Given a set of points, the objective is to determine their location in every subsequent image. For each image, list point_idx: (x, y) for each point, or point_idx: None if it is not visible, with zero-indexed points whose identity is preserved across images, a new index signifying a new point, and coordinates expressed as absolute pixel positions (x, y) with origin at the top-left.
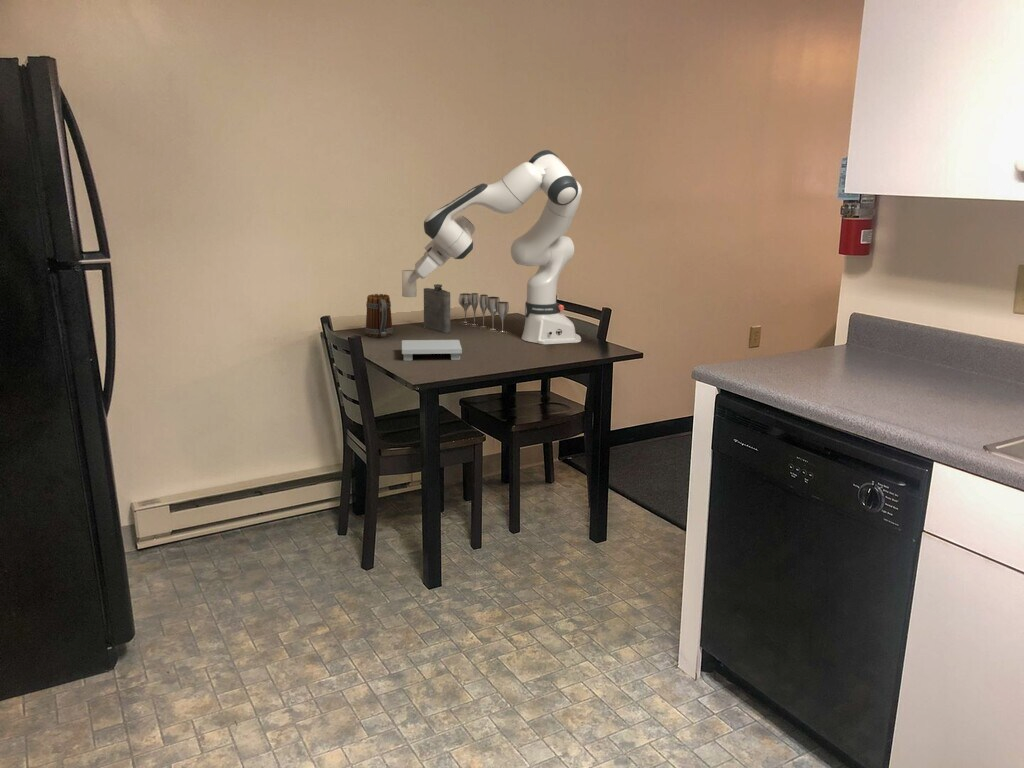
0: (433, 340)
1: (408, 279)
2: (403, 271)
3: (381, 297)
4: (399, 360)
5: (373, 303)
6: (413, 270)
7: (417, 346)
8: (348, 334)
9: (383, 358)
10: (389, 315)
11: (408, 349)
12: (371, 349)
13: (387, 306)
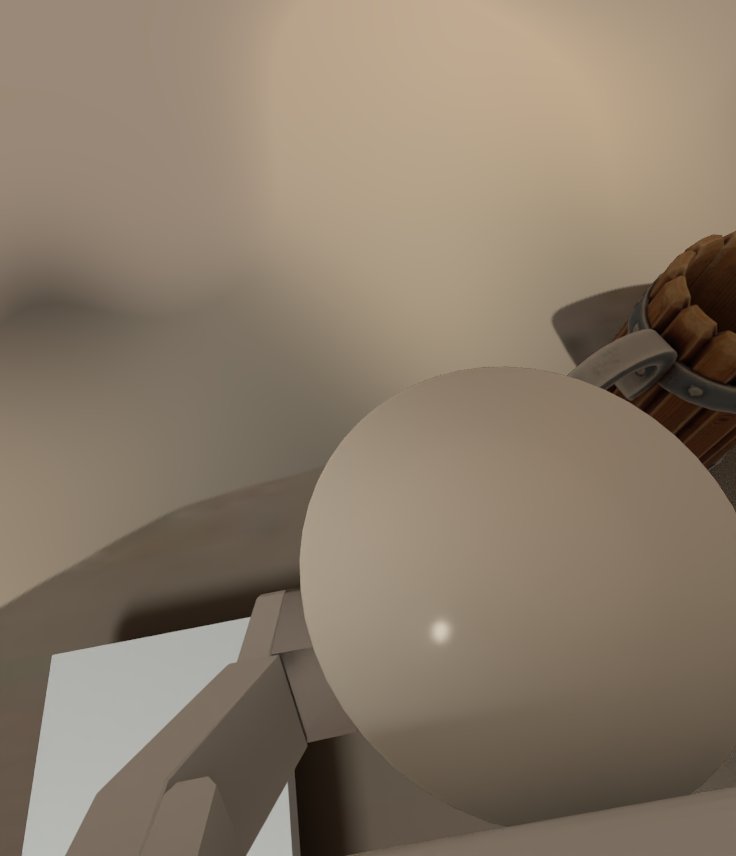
0: (275, 852)
1: (287, 601)
2: (359, 424)
3: (704, 322)
4: (116, 637)
5: (647, 308)
6: (652, 689)
7: (113, 745)
8: (583, 315)
9: (162, 552)
10: (685, 437)
11: (49, 695)
12: (325, 465)
13: (700, 398)
